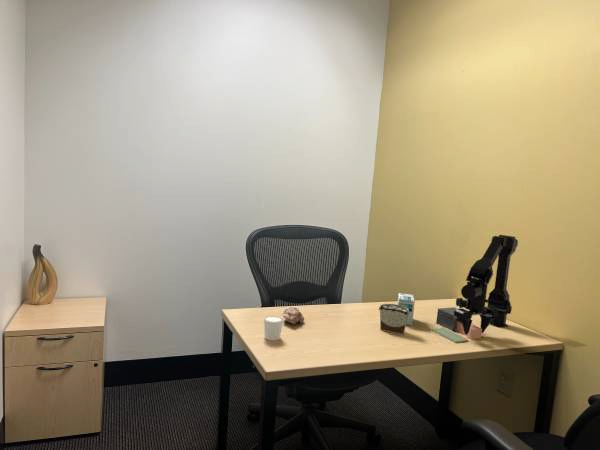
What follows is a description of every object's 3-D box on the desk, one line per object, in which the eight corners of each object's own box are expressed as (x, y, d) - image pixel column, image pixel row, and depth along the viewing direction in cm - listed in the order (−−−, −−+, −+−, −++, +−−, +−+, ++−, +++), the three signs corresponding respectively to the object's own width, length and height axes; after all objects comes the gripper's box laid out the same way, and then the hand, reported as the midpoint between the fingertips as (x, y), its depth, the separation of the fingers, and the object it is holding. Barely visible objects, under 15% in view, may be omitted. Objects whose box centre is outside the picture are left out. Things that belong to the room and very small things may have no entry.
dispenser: (452, 321, 204) (453, 307, 204) (469, 329, 195) (470, 314, 195) (436, 323, 201) (437, 308, 200) (452, 331, 192) (454, 315, 191)
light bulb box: (412, 325, 195) (415, 300, 194) (396, 323, 196) (398, 298, 195) (411, 318, 205) (414, 294, 204) (396, 316, 207) (398, 292, 205)
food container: (410, 331, 188) (413, 307, 187) (407, 335, 182) (409, 310, 181) (380, 324, 193) (382, 301, 192) (376, 329, 187) (379, 305, 186)
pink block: (460, 327, 198) (461, 318, 198) (480, 338, 186) (482, 328, 185) (450, 327, 197) (451, 318, 196) (470, 339, 184) (471, 329, 184)
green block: (443, 329, 193) (443, 327, 193) (468, 341, 181) (468, 339, 181) (431, 330, 191) (431, 328, 191) (455, 342, 178) (455, 341, 178)
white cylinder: (267, 341, 165) (268, 322, 164) (260, 335, 171) (261, 316, 170) (284, 339, 168) (286, 321, 168) (276, 333, 174) (278, 315, 174)
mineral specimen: (311, 322, 185) (304, 308, 183) (296, 333, 183) (289, 320, 180) (298, 312, 196) (291, 299, 193) (283, 323, 193) (276, 310, 191)
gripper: (480, 289, 196) (476, 325, 198) (446, 291, 189) (442, 328, 190) (501, 296, 186) (496, 334, 188) (466, 299, 178) (461, 338, 180)
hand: (473, 333), depth 187 cm, fingers open, 8 cm apart
